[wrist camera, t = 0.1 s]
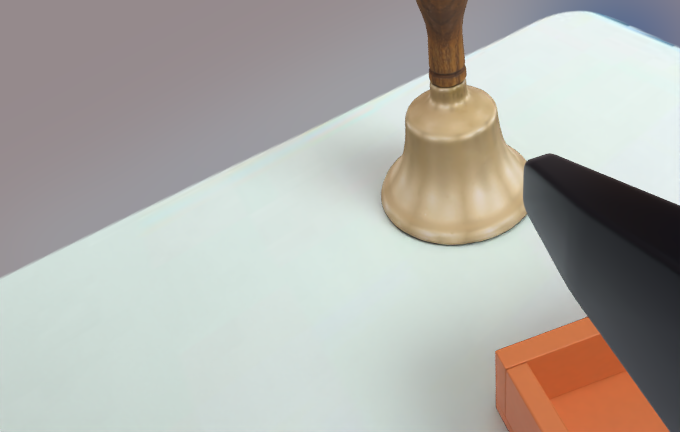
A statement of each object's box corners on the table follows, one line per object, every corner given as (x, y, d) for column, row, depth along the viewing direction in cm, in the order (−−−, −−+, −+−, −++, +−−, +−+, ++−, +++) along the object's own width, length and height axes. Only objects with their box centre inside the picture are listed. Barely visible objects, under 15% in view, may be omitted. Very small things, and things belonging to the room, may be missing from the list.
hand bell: (355, 180, 36) (289, -115, 25) (475, 123, 37) (464, -177, 26) (433, 272, 30) (394, -59, 19) (571, 199, 32) (609, -144, 20)
